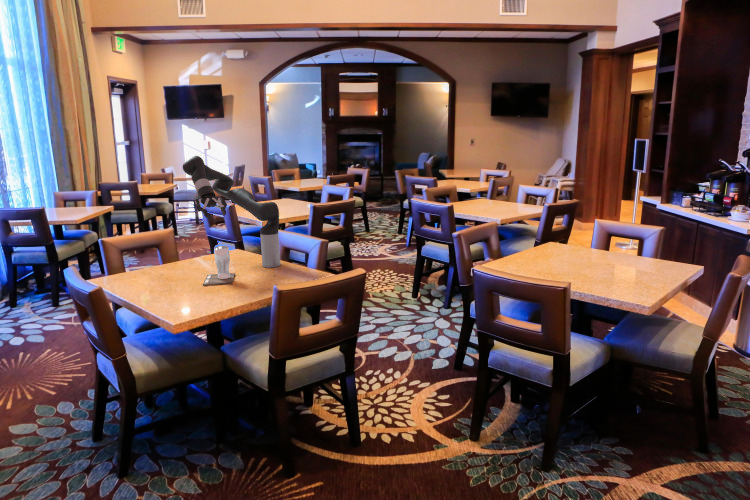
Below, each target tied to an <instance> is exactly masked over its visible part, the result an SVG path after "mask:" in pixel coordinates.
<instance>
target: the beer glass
mask: <svg viewBox="0 0 750 500" xmlns="http://www.w3.org/2000/svg"><path fill="white" fill-rule="evenodd" d="M213 251H214V253H213V254H214V261H215V265H216V269H217V274H218V276H217V279H220V280H224V279H229V278H230V273H231V272H230V262H231V261H230V260H231V259H230V257H231V256H230V249H229V246H227V245H220V246H214V249H213Z"/></svg>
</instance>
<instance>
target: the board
mask: <svg viewBox="0 0 750 500" xmlns="http://www.w3.org/2000/svg"><path fill="white" fill-rule="evenodd" d="M229 273H230V278H229V279H224V280H220V279H217V276H218V273H216V274H215V273H213V274H212V273H208V274H207V275H206V277H205V279H204V282H203V283H202V286H203V287H207V286H221V285H222V286H225V285H232V284H233V281H234V280H235V279H234V278H235V277H236V273H235V272H229Z"/></svg>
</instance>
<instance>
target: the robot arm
mask: <svg viewBox="0 0 750 500" xmlns="http://www.w3.org/2000/svg"><path fill="white" fill-rule="evenodd" d="M182 170H183V172H184V173H185V174H187V175H189V176H191V180H192V183H193V185H194V188H195V190H196V194H197V195H198V197H199V198H196V199H195V201H194V204H195V207H196V210H197V212H199V213H200V212H202V214H203V216H204V218H206V219H208V218H209V216H210V215H209V212H208V210H207V208H216V209H219V210H220V212H221V213H222V215H223V216H226V214H227V211H226V208H227V207H228V204H227V202H226V199H228V200H230V201H232V203H234V204H235V205H237V206H239V207H240V208H242V209H244V210H245V211H247V212H248V213H250V214H251V215H252V216H253V217H255V218H256V219H257V220H259V221H261V222H266V223H265V224H264V225H263V226H261V228H260V229H259V234H260V247H261V249H260V250H261V260H262V261H261V262H262V263H261V264H262V267H263V268H269V269H270V268H271V269H272V268H278V267H280V266H281V253H280V239H279V237H280V236H279V228H280V210H279V209H280V208H279V206H278V204H277V202H275V201H269V202H258V201H255V200H256V199H255V196H254V194H253V193H252V192H250V191H249V190H247V189H245V188H240V187H239V188H235V189H232V187H233V186H234V183H235V182H234V180H233V178H231V177H230V176H229V175H227V174H225V173H223V172H220V171H219V170H218V171H217V170H216V169H212V168H211V167H210V166H208V165H206V164H205V162H204V160H203V158H202V157H201V156H199V155H194V156H192V157H191V158H189V159H188V160H186V161H184V162H183V164H182ZM214 180H215V181H214ZM210 181H211V182H212V181H214V182H213V184H212V185H211V183H210ZM231 189H232V190H231ZM216 193H217V194H218V195H219V196H220V197H218V196H216ZM225 198H226V199H225ZM201 204H202V205H203V207H202V206H201Z"/></svg>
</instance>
